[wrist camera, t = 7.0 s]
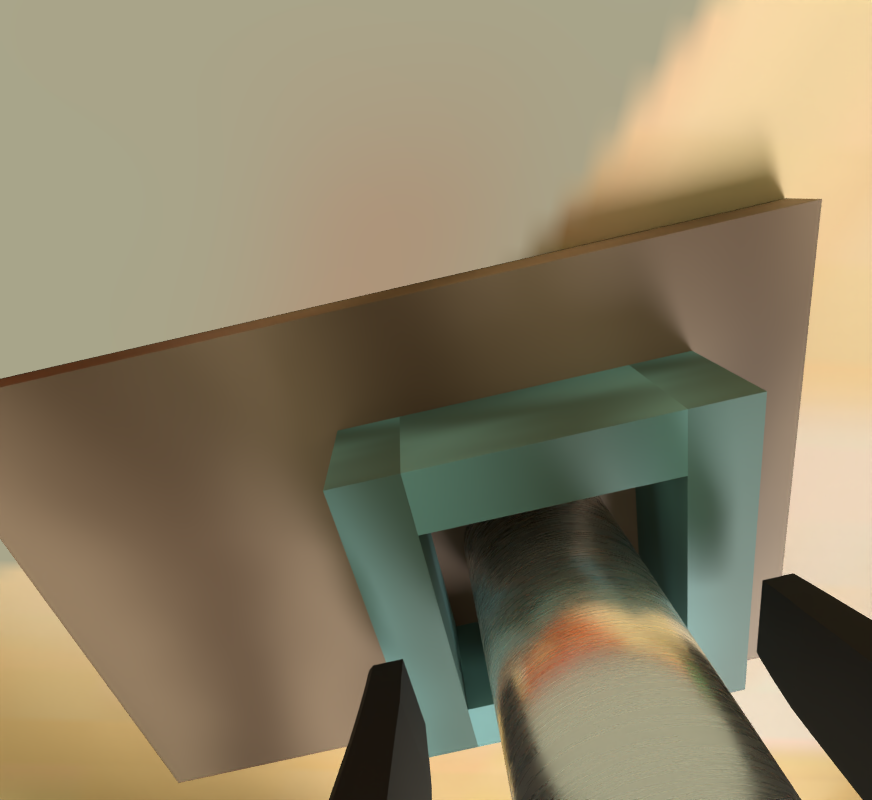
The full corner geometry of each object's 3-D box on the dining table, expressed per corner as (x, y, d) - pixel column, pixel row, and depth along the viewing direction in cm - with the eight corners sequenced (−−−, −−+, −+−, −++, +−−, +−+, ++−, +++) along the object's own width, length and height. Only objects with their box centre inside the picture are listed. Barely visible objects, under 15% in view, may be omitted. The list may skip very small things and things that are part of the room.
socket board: (190, 750, 17) (142, 880, 14) (-56, 391, 11) (-232, 470, 8) (752, 628, 17) (837, 733, 14) (786, 198, 11) (944, 202, 8)
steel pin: (486, 610, 14) (584, 1063, 7) (444, 502, 12) (513, 943, 5) (620, 569, 14) (871, 994, 7) (595, 454, 12) (891, 846, 5)
